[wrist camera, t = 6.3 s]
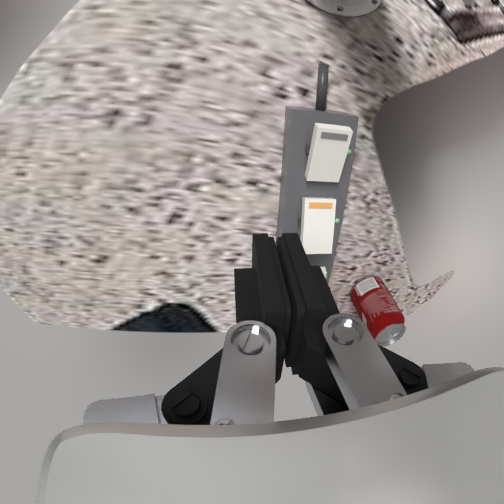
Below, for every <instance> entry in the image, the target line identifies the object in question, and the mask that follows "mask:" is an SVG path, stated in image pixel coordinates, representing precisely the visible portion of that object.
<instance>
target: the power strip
mask: <svg viewBox="0 0 504 504" xmlns="http://www.w3.org/2000/svg"><path fill="white" fill-rule="evenodd" d="M328 68H329V65H326V64H319V67H318V83H317V98H316V109H311V108H301V107H288V106H286V113H285V129H284V144H283V159H282V173H281V186H280V199H279V211H278V223H277V235H276V242H277V237H282V234H283V233H298V235H299V238H300V236H301V218H302V197H325V198H334V199H336V210H335V223H334V235H333V245H332V254H306V255H307V258H308V260H309V263H310V265H311V266H315V265H318V266H320V267H325V268H326V272H327V275H326V277H325V279H326V281H327V284H328V281H329V277H330V273H331V269H332V264H333V260H334V256H335V251H336V247H337V242H338V238H339V233H340V228H341V223H342V218H343V213H344V208H345V203H346V198H347V192H348V186H349V180H350V174H351V168H352V162H353V155H354V148H355V141H356V133H357V125H358V117H357V116H354V115H351V114H348V113H343V112H336V111H329V110H325V109H326V97H327V84H328ZM315 123H323V124H332V125H340V126H348V127H350V128H351V130H352V131H353V134H352V138H351V141H350V145H349V149H348V152H347V156H346V159H345V163H344V166H343V169H342V173H341V176H340V179H339V182H322V181H307V180H306V177H305V171H306V166H307V161H308V156H309V151H310V146H311V141H312V136H313V131H314V125H315Z"/></svg>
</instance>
